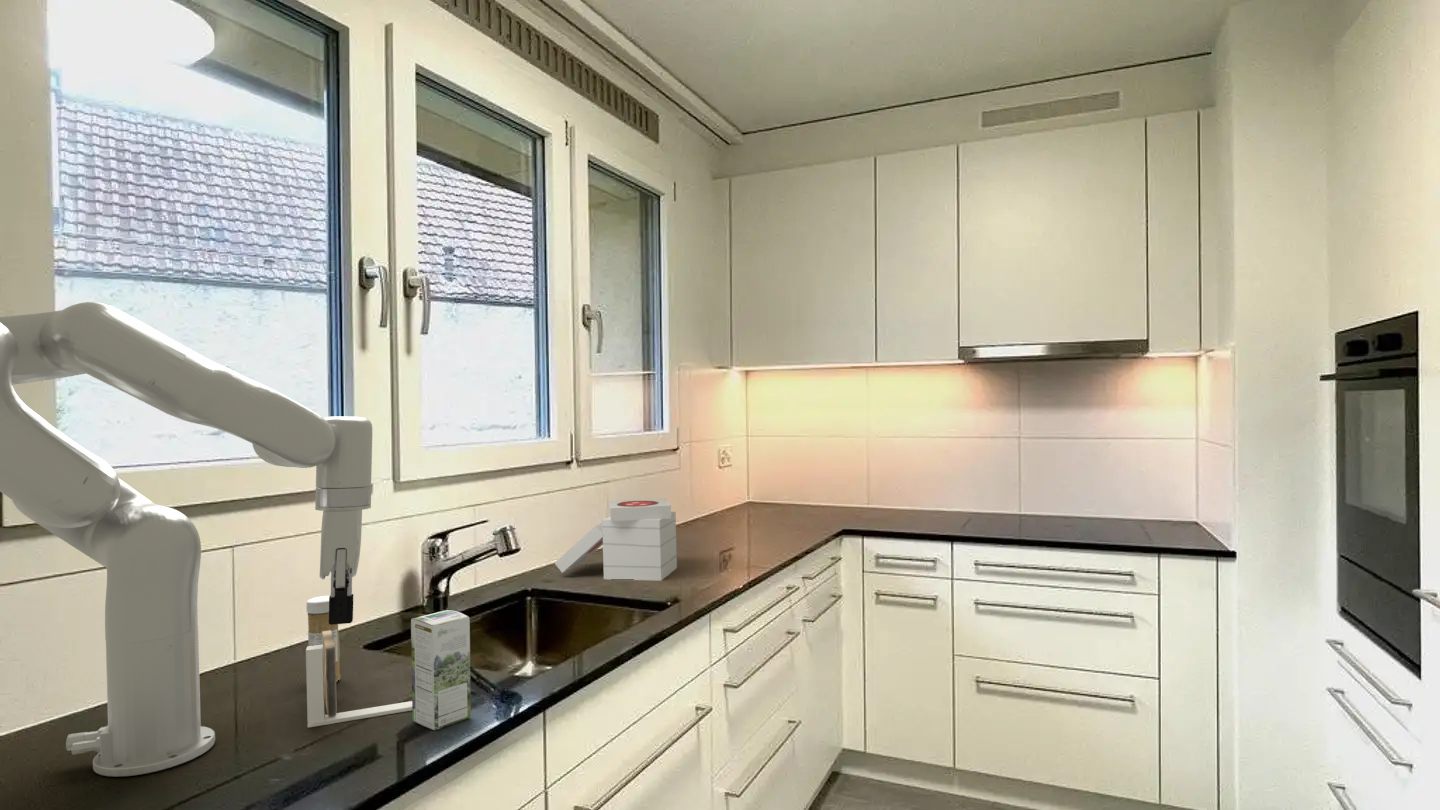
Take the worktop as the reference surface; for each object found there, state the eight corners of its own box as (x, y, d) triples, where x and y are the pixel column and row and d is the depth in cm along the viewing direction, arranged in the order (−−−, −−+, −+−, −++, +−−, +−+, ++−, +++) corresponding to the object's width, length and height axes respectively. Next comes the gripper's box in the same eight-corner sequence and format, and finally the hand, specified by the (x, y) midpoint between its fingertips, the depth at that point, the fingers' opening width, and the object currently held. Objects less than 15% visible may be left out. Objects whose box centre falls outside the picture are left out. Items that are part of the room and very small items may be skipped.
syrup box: (449, 708, 113) (446, 608, 113) (472, 718, 109) (470, 614, 109) (411, 721, 108) (409, 617, 108) (435, 732, 105) (432, 623, 105)
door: (338, 714, 109) (337, 648, 109) (327, 716, 109) (326, 650, 109) (333, 690, 119) (332, 629, 119) (323, 692, 118) (322, 631, 118)
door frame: (307, 727, 107) (305, 650, 107) (309, 721, 109) (307, 646, 109) (432, 706, 114) (430, 634, 114) (431, 701, 116) (429, 630, 116)
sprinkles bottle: (341, 675, 128) (339, 593, 128) (338, 684, 124) (336, 599, 124) (310, 679, 127) (308, 596, 127) (306, 689, 122) (304, 602, 122)
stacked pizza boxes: (580, 564, 214) (578, 498, 214) (686, 566, 208) (684, 498, 208) (550, 580, 195) (548, 508, 195) (666, 583, 189) (664, 508, 189)
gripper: (319, 495, 123) (316, 614, 122) (311, 504, 109) (308, 637, 108) (371, 494, 126) (369, 610, 125) (370, 502, 112) (367, 632, 111)
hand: (340, 622), depth 117 cm, fingers closed
